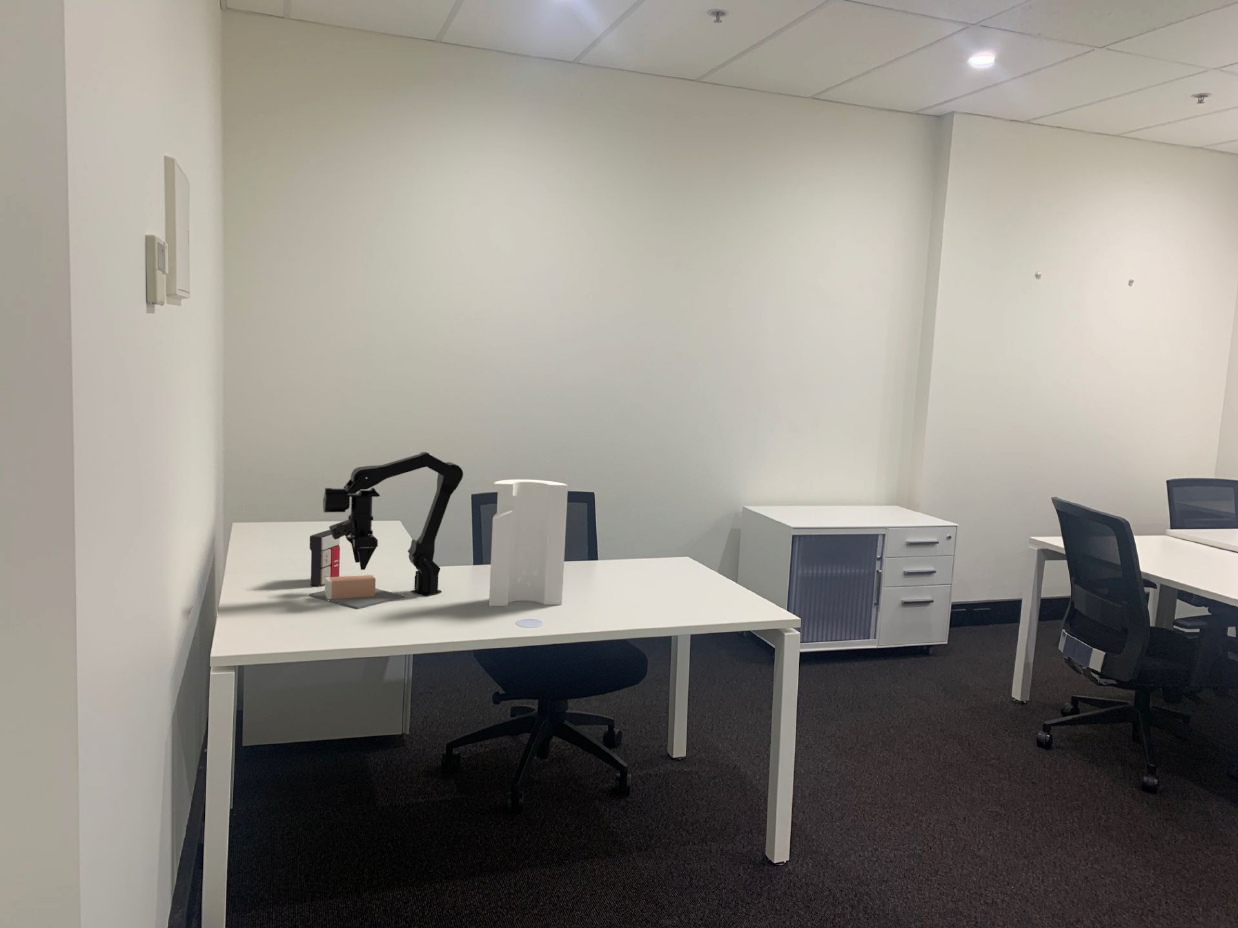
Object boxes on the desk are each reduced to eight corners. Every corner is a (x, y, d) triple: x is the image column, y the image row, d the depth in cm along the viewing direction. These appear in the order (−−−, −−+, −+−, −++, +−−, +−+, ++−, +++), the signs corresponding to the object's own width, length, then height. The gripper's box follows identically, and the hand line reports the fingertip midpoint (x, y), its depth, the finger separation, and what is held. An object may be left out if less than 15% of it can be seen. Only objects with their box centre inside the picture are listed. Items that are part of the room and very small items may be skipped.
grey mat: (403, 597, 254) (404, 595, 254) (357, 608, 239) (358, 607, 239) (356, 584, 264) (356, 583, 264) (309, 595, 250) (309, 593, 250)
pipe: (562, 605, 255) (489, 606, 249) (554, 595, 266) (484, 596, 260) (568, 485, 251) (494, 484, 245) (560, 480, 262) (489, 478, 256)
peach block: (372, 574, 255) (325, 577, 249) (375, 578, 251) (328, 581, 245) (371, 591, 256) (324, 594, 250) (375, 596, 251) (327, 599, 245)
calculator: (321, 587, 260) (322, 537, 258) (308, 585, 261) (309, 535, 259) (340, 578, 270) (341, 530, 269) (327, 577, 271) (329, 529, 270)
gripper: (327, 507, 254) (325, 560, 256) (336, 518, 237) (335, 575, 239) (366, 506, 259) (365, 558, 261) (378, 517, 242) (377, 573, 244)
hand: (359, 566), depth 251 cm, fingers open, 9 cm apart
